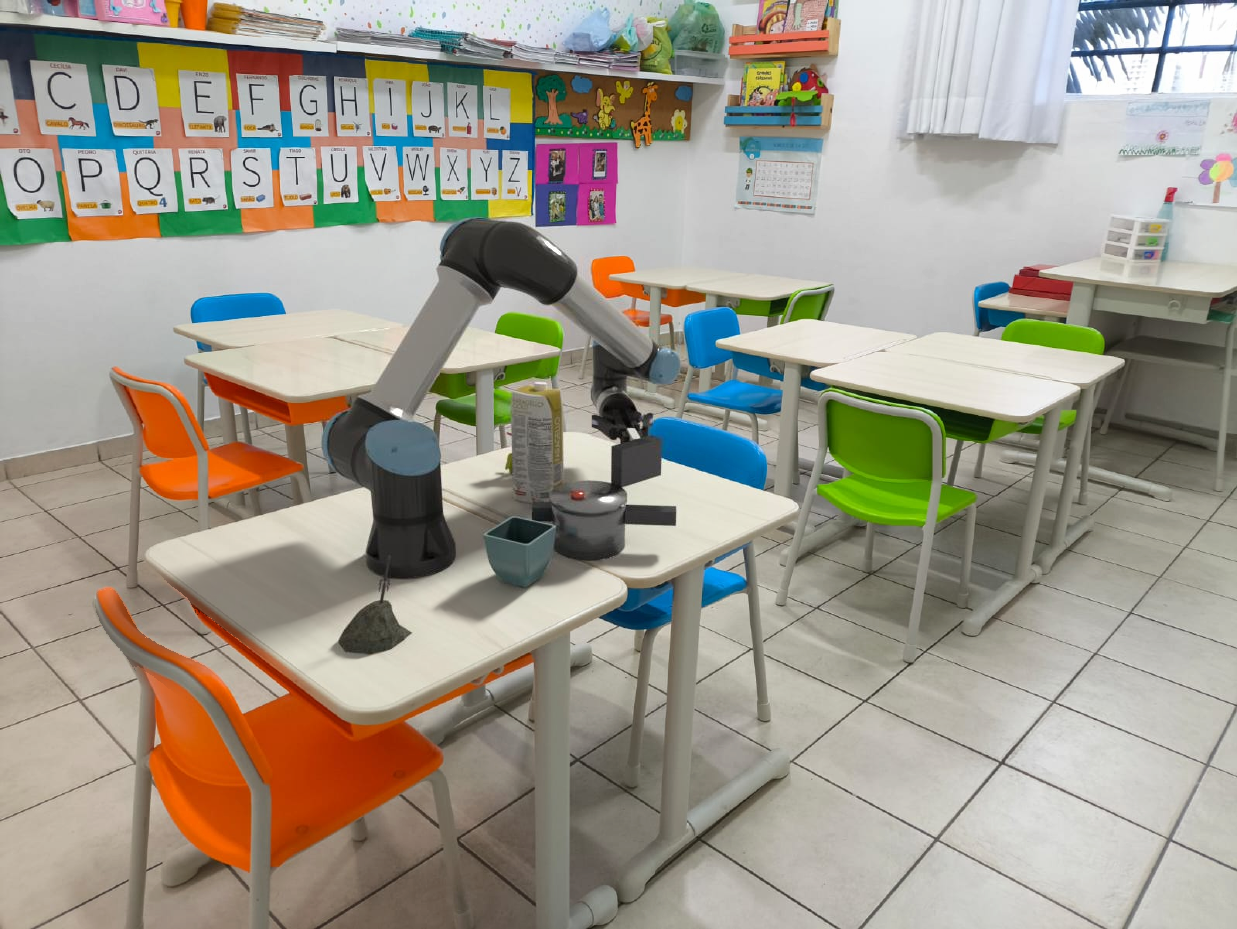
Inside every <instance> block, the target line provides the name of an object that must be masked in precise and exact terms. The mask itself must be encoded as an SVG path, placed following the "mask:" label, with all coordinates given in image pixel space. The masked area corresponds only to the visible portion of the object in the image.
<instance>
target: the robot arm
mask: <svg viewBox="0 0 1237 929" xmlns="http://www.w3.org/2000/svg"><path fill="white" fill-rule="evenodd" d="M440 240H441V241H440V244H439V251H440V255H439V259H440V262H439V263H438V265H437V267H436V273H437V277H438V281H437V283H436V285H435V287H434V288H433V290H432V291H431V292H430V295H429V296H428V298H427V300H426V301H425V303H424V304H423V306H422V308H421V309H420V311H419V313H418V314H417V316H416V317H415V318H414V320H413V322H412V324H411V325H410V327H409V329H408V331H407V332H406V334H405V335H404V337H403V338H402V340H401V342H400V344H399V345H398V347H397V348H396V350H395V351H394V353H393V354H392V357H391V358H390V360H389V362H388V363H387V365H386V366H385V368H384V370H383V371H382V373H381V374H380V376H379V378H378V379H377V381H376V382H375V384H374V386H373V387H372V389H371V391H369V392H367V393H363V394H359V395H358V396H356V398H355V400H354V401H353V403H352V404H351V406H350V408H349V409H345V410H343V411H339V412H338V413H335V415H333V416H332V417H331V418H330V419H329V420H328V421H327V423H326V425H325V426H324V428H323V431H322V433H321V442H320V443H321V450H322V451H321V452H322V455H323V458H324V459H325V461H326V463H327V464H328V465H329V467H331V468H332V469H333V470H334V471H335V472H336V473H338V474H339V475H340V476H341V477H343V478H345V479H347V480H350V481H353V482H354V483H355V484H358V485H360V486H361V487H363V488H365V489H367V490H368V491H370V499H371V509H372V524H371V528H370V531H369V537H368V540H367V544H366V548H365V559H366V560H365V562H366V565H367V566H366V567H367V568H368V569H369V570H370V571H371V572H373V573H375V574H376V575H379V576H383V577H384V576H385V571H386V565H387V559H388V556H390V563H389V567H388V568H389V569H388V574H387V577H388V578H393V579H394V578H395V579H409V578H410V579H411V578H418V577H424V576H429V575H433V574H435V573H438V572H441V571H443V570H445V569H446V568H448V567H450V566H451V565H452V564H453V563H454V562H455V560H456V558H457V550H456V549H457V548H456V547H457V546H456V545H457V544H456V541H455V538H454V536H453V534H452V531H451V529H450V527H449V524H448V522H447V520H446V518H445V515H444V503H443V487H442V486H443V485H442V484H443V483H442V470H441V468H442V466H441V465H442V464H441V460H442V454H441V448H440V444H439V443H440V442H439V439H438V435H437V434H436V432H435V430H433V429H432V428H431V427H430V426H428V425H425V424H424V423H421V422H419V421H414V417H415V414H416V413H417V411H418V410H419V409H420V407H421V404H422V403H423V402H424V400H425V398H426V397H427V395H428V393H429V391H430V390H431V388H432V386H433V384H434V383H435V381H436V379H437V378H438V376H439V375H440V373H441V372H442V370H443V368H444V366H445V365H446V364H447V362H448V360H449V359H450V356H451V355H452V353H453V351H454V350H455V348H456V347H457V345H458V343H459V341H460V340H461V338H462V336H463V335H464V333H465V332H466V330H467V329H468V326H469V325H470V324H471V322H472V320H473V318H474V317H475V315H476V313H477V311H479V308H480V307H482V306H487V305H491V304H492V303H493V302H494V300H495V299H496V298H495V297H497V295H498V293H499V292H500V290H501V288H504V289H509V290H510V289H511V290H515V291H517V292H520V293H523V294H526V295H528V296H530V297H532V298H533V299H535V300H536V301H537V302H539V303H540V304H541V305H543V306H552V307H553V308H555V309H556V310H557V311H558V312H560V313H561V314H562V315H563V316H564V317H566V318H567V319H569V321H570V322H572V323H573V324H574V325H575V326H577V327H578V328H579V329H581V331H583V332H584V333H585V334H587V335H588V336H589V337H591V339H592V342H593V343H592V385H591V387H590V400H591V401H592V402H591V403H592V404H593V407H595V409H596V411H597V414H591V428H592V429H596V430H598V431H599V432H601V434H603V435H604V436H606V437H607V438H608V439H610V440H611V441H617V439H619V441H620V443H619V444H621V443H624V442H628V441H632V440H635V439H639V438H643V437H646V436H650V428H651V427H653V426H654V413H652V412H648V413H646V414H645V413H644V414H643V415H642V413H641V412H640V411H639V410H638V409H637V407H636V404H634V401H633V400H632V399H631V398H630V396H629V394H628V393H627V392H628V391H627V390H628V377H631V378H634V379H638V380H641V381H644V382H648V383H651V384H653V385H662V386H668V385H670V384H672V383H673V382H674V381H675V380H676V379H677V378H678V375H679V374H680V372H681V366H682V362H681V357H680V355H679V353H678V352H676V350H674V349H670V348H669V347H666V346H661V345H659V344H658V343H657V342H656V341H655V340H653V339H652V338H651V337H649V335H647V334H646V333H645V332H644V331H643V330H642V329H641V328H639V326H638V325H636V324H635V323H634V322H633V321H632V320H631V319H630V318H628V317H627V316H626V314H625V313H624V312H621V310H620V309H619V308H618V307H616V306H615V305H614V304H613V303H612V302H611V301H610V300H609V299H608V298H606V296H604V295H603V294H602V293H601V292H600V291H598V289H596V288H595V286H593V285H592V284H591V283H590V282H589V281H587V279H585V278H584V277H583V276H582V275H581V273H579V269H578V264H577V263H576V262H575V261H574V260H573V259H571V257H570V256H569V255H567V254H566V253H565V252H564V251H563V250H562V249H561V248H559V246H557V245H556V244H555V243H554V242H552V240H550V239H549V238H547V237H546V236H545V235H543V234H542V233H541V232H539V231H537V230H536V229H534V228H533V227H531V226H529V225H527V224H525V223H522V222H517V221H506V220H497V219H496V220H495V219H491V218H487V217H480V216H475V217H467V218H463V219H460V220H458V221H456V222H455V223H454V222H453V224H451V225H450V226H449V228H447V230H446V231H445V232H444V234H443V236H442V238H441V239H440ZM641 423H642V427H641Z"/></svg>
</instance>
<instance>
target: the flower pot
mask: <svg viewBox="0 0 1237 929" xmlns="http://www.w3.org/2000/svg"><path fill="white" fill-rule="evenodd" d="M555 530H556V526H555V525H552V523H549V522H548V523H547V522H540V521H534V520H532V519H528V518H523V517H520V516H515V515H514V516H510V517H508V518H506V519H505V520H504V521H502V522H501V523H499V524H497V525H495V526H494V527H492V528H491V529H489V530H487V531H486V532H484V533H483V534H482V537H483V543H484V547H485V552H486V556H487V559H488V563H489V566H490V567H491V569H492V571H493V572H494V574H495V575H496V577H498V579H499V580H500V581H501V582H502V583H506V584H507V583H508V584H512V585H514V586H518V587H522V588H527V587H529V586H530V585H532V584H533V583H534V582H536V581H537V580H538V579H540V578H541V577H542V576H544V574H545V572H546V570H547V569H548V567H549V564H550V562H551V560H552V558H553V554H554V549H553V548H554V540H555Z"/></svg>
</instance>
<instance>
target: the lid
mask: <svg viewBox="0 0 1237 929" xmlns="http://www.w3.org/2000/svg"><path fill="white" fill-rule="evenodd" d="M610 450H611V451H610V452H611V454H610V455H611V456H610V458H611V459H610V461H611V462H610V482H607V481H602V480H576V481H570V482H565V483H564V484H562V485H560V486H557V487H556V488H554V489H553V490H552V491H551V493H550V502H551V504H552V505H553V506H554V507H555V508H557V509H559V510H561V511H564V512H568V513H572V514H580V515H597V514H605V513H610V512H613V511H616V510H618V509H620V508H622V507H623V506H624V505H625V506H626V505H627V502H628V493H627V491H626V490H625V488H626V487H629V486H632V485H634V484H638V483H641V482H644V481H647V480H650V479H654V478H656V477H660V476H662V457H663V456H662V454H663V452H662V451H663V438H662V437H658V436H655V435H653V434H651V435H650V434H649V436H646V437H643V438H639V439H635V440H632V441H628V442H624V443H621V444H620V443H617V444H614V445H611V448H610Z"/></svg>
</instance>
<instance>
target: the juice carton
mask: <svg viewBox="0 0 1237 929" xmlns="http://www.w3.org/2000/svg"><path fill="white" fill-rule="evenodd" d="M510 394H511V395H510V426H511V429H510V430H511V435H512V436H511V453H512V467H513V474H512V486H513V494H514V496H513V497H514V499H515V500H516V501H519V502H523V503H528V504H531V505H533V502H550V493H551V491H552V490H553V489H554V488H556V487H557V486H560V485H562V484H565V483H564V482H565V481H564V479H565V478H564V466H565V465H564V404H563V397H562V396H563V395H562V389H555V388H548V383H547V382H543V381H535V382H533V385H532V384H528V385H524V386H522V387H520V388H517V389H515V390H512V391H511V393H510Z"/></svg>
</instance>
